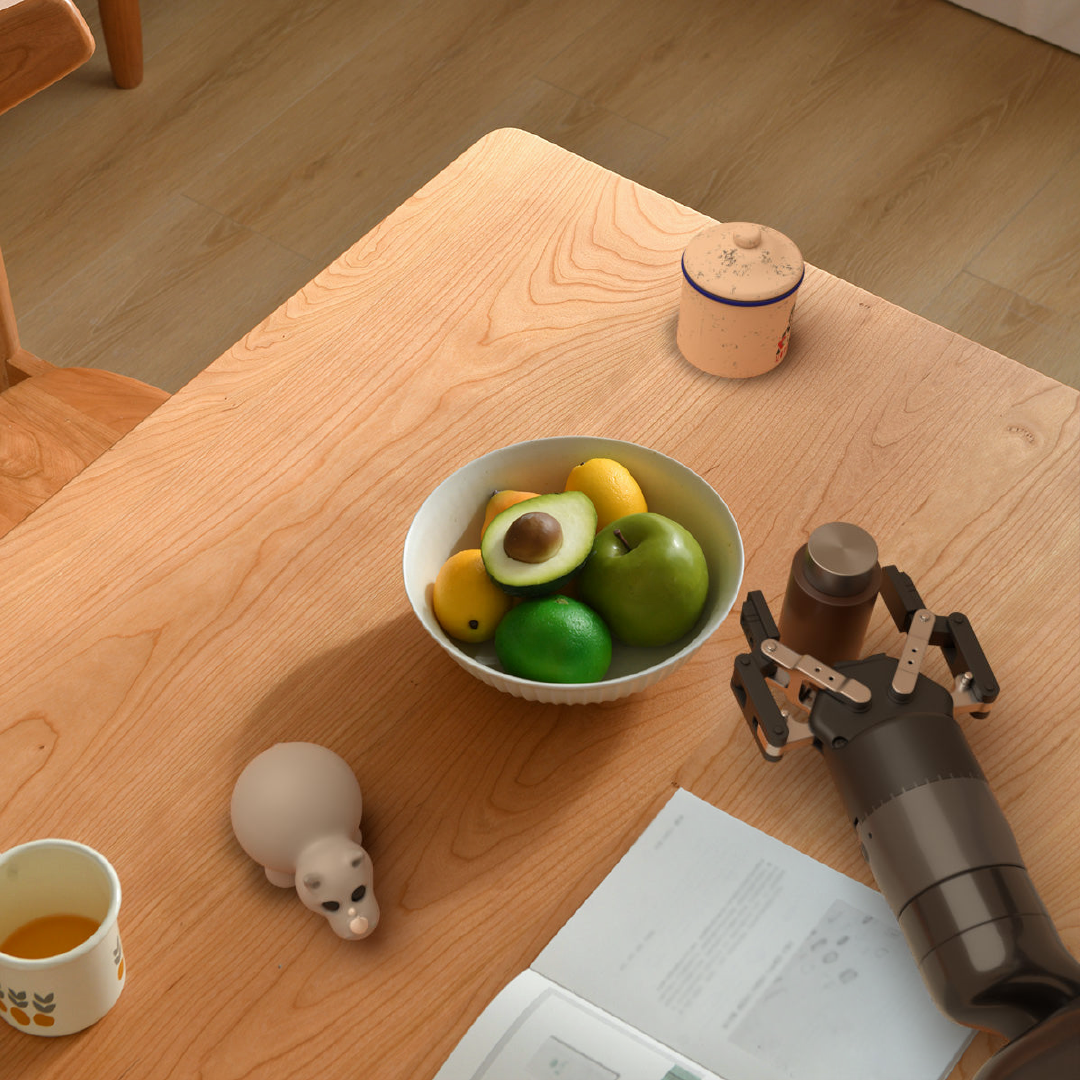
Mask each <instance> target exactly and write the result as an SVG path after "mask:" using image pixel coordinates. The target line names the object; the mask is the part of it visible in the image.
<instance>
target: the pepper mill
mask: <svg viewBox="0 0 1080 1080" xmlns="http://www.w3.org/2000/svg"><path fill="white" fill-rule="evenodd" d="M879 553H880V552H879V547H878V544H877V542H876V540H875V539H874V537H873V536H872V535H871V534H870V533H869V532H868V531H867V530H866V529H864V528H862V527H860V526H858V525H856V524H853V523H850V522H845V521H832V522H827V523H824V524H822V525H819V526H818V527H816V528H815V529H814V530H813V531H812V532H811V534H809V537H808V540H807V541H806V542H805V543H803V544H802V545H801V546H800V547H799V548H798V549H797V550H796V552H795V553H794V555H793V557H792V561H791V565H790V570H789V573H788V574H789V575H788V578H787V583H786V588H785V592H784V597H783V601H782V605H781V610H780V613H779V619H778V623H777V628H778V631H779V633H780V635H781V636H780V640H779V642H780V643H782V644H783V645H785V646H786V647H788V648H790V649H791V650H793V651H795V652H796V653H798V654H799V655H805V654H807V655H810V656H812V657H814V658H815V659H817V660H819V661H820V662H822V663H824V664H825V665H827V666H828V667H830V668H832V667H833V664H834V662H839V661H844V660H859V657H860V654H861V650H862V647H863V644H864V641H865V638H866V635H867V632H868V628H869V625H870V621H871V619H872V616H873V612H874V609H875V605H876V603H877V599H878V596H879V594H880V592H879V590H880V587H881V583H882V577H883V576H882V566H881V564H880V562H879V555H880V554H879ZM809 685H810V687H811V688H812V690H814V691H815V692H816V693H817V691H818V688H819V687H818V686H816V685H815V684H813V683H811V682H809Z"/></svg>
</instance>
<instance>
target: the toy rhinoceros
mask: <svg viewBox="0 0 1080 1080" xmlns="http://www.w3.org/2000/svg"><path fill="white" fill-rule="evenodd" d="M362 796H363V795H362V791H361V787H360V784H359V781H358V779H357V776H356V774H355V773H354V772H353V770H352V768H351V767H350V766H349V764H348V763H347V762H346V761H345V759H343V758H342V757H341V756H340V755H339V754H337V753H336V752H334V751H333V750H331V749H329V748H327V747H325V746H322V745H321V744H318V743H313V742H307V741H290V742H289V741H288V742H276V743H274V744H273V745H272V746H271V747H270V748H267V749H265V750H264V751H262V752H260V753H259V754H258V755H256V756H255V757H254V758H253V759H251V760H250V762H249V763H248V764H247V765H246V766H245V767H244V769H243V770H242V772H241V773H240V775H239V777H238V778H237V780H236V783H235V785H234V788H233V791H232V795H231V799H230V821H231V827H232V830H233V833H234V835H235V837H236V839H237V842H238V844H239V845H240V846H241V848H242V849H243V850H244V852H245V853H246V854H247V855H248V856H249V857H250V858H251V859H252V860H254V862H256V863H257V864H259V865H260V866H262V867H264V873H265V877H266V878H267V880H268V882H270V883H271V884H272V885H273V886H275V887H278V888H281V889H288V888H294V887H295V889H296V892H297V896H298V898H299V899H300V901H301V902H302V904H303V905H304V906H305V907H306V908H307V909H308V910H310V911H312V912H314V913H316V914H319V915H321V916H323V917H325V918H326V919H327V922H328V923H329V925H330V927H331V929H332V931H333V932H334V934H336V935H337V936H338V937H339V938H341V939H344V940H346V941H347V940H348V941H360V940H363V939H366V937H368V936H370V934H372V933H373V932H374V930H375V929H376V928H377V926H378V924H379V921H380V918H381V911H380V906H379V904H378V901H377V898H376V896H375V893H374V866H373V861H372V859H371V856H370V855H369V853H368V852H367V851H366V850H365V848H363V846H362V842H363V834H362V830H361V829H360V827H359V826H360V824H361V821H362V815H363V797H362Z"/></svg>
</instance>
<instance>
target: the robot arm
mask: <svg viewBox="0 0 1080 1080" xmlns="http://www.w3.org/2000/svg"><path fill="white" fill-rule="evenodd" d="M881 569H882V576H883V577H882V583H881V587H880V590H879V595H880V596H881V598H882V601H883V602H884V605H885V606H886V608H887V610H888V613H889V615H890V617H891V618H892V620H893V623H894V624H895V627H896V629H897V631H898V632H899V634H902V633H903V634H904V633H906V634H905V635H906V638H905V640H904V644H903V646H902V650H901V653H900V656H899V658H896V657H894V656H887V654H886V652H879V653H875V654H874V653H873V654H871V655H869V656H868V657H865V658H863V659H860V660H859V659H858V660H844V661H839V662H834V664H833V667H832V668H830V667H828V666H827V665H825V664H824V663H822V662H820V661H819V660H817V659H815V658H814V657H812V656H810V655H807V654H805V655H799V654H798V653H796V652H795V651H793V650H791V649H790V648H788V647H786V646H785V645H783V644H782V643H780V642H779V640H780V636H781V635H780V633H779V631H778V628H777V627H778V625H777V623H776V621H775V618H774V617H773V615H772V612H771V609H770V608H769V605H768V602H767V601H766V598H765V596H764V594H763V592H762V589H756V590H751V591H748V592H747V595H746V600H745V601H743V602H742V606H741V611H740V618H739V625H740V626H741V629H742V631H743V634H744V636H745V639H746V641H747V644H748V646H749V649H750V652H749V653H745V652H742V653H739V654H737V655H735V656H736V657H735V658H734V662H733V670H732V671H733V672H732V676H731V678H730V683H729V686H730V689H731V691H732V693H733V696H734V698H735V700H736V702H737V704H738V707H739V709H740V710H741V713H742V715H743V717H744V720H745V721H746V724H747V726H748V729H749V730H750V733H751V734H752V736H753V737H752V738H753V739H754V741H755V743H756V745H757V747H758V749H759V752H760V754H761V756H762V757H763V759H764V760H765V761H766V762H768V763H772V764H773V763H774V764H775V763H778V762H780V761H781V760H782V759H783V757H784V754H785V752H788V751H793V750H796V749H800V748H803V747H808V746H811V747H812V748H814V749H815V751H817V752H818V753H819V754H820V755H821V756H822V757H823V758H824V761H825V763H826V765H827V769H828V772H829V775H830V777H831V779H832V782H833V784H834V787H835V788H836V791H837V793H838V796H839V798H840V800H841V803H842V806H843V808H844V810H845V812H846V815H847V817H848V819H849V823H850V824H851V826H852V829H853V831H854V834H855V836H856V838H857V841H858V844H859V850H860V853H861V855H862V858H863V861H864V862H865V864H867V866H868V867H869V869H870V871H871V874H872V876H873V878H874V880H875V883H876V885H877V888H878V889H879V890H880V892H881V894H882V896H883V897H884V899H885V900H886V902H887V904H888V905H889V907H890V909H891V911H892V913H893V914H894V917H895V919H896V921H897V922H898V925H899V928H900V930H901V932H902V935H903V936H904V937H903V938H904V939H905V941H906V944H907V947H908V950H909V951H910V953H911V956H912V959H913V960H914V962H915V965H916V967H917V970H918V971H919V975H920V977H921V979H922V981H923V984H924V986H925V987H926V990H927V992H928V994H929V997H930V999H931V1000H932V1002H933V1004H934V1005H935V1007H936V1009H937V1010H938V1012H939V1013H940V1014H941V1015H942V1016H943V1017H944V1018H945V1019H946V1020H947V1021H949V1022H951V1023H953V1024H955V1025H958V1026H961V1027H966V1028H969V1029H972V1030H973V1029H974V1030H978V1031H982V1032H986V1033H990V1034H992V1035H995V1036H998V1037H1000V1038H1002V1039H1003V1040H1005V1041H1006V1042H1008V1043H1006V1044H1005V1045H1004V1046H1002V1047H1001V1048H1000V1049H999V1050H997V1051H996V1052H995V1053H994V1054H993V1055H991V1057H989V1058H988V1059H987V1060H986V1061H985V1062H984V1063H983V1065H981V1067H980V1068H979V1069H978V1070H977V1071H976V1073H975V1074H974V1076H973V1077H972V1078H971V1080H1080V962H1079V960H1077V958H1076V957H1075V956H1074V955H1073V954H1072V953H1071V951H1070V950H1069V949H1068V948H1067V947H1066V945H1065V943H1064V941H1063V939H1062V936H1061V935H1060V933H1059V931H1058V929H1057V927H1056V924H1055V922H1054V920H1053V919H1052V917H1051V914H1050V913H1049V911H1048V909H1047V907H1046V904H1045V903H1044V901H1043V899H1042V897H1041V895H1040V893H1039V890H1038V889H1037V887H1036V885H1035V882H1034V881H1033V879H1032V877H1031V875H1030V873H1029V870H1028V868H1027V865H1026V864H1025V861H1024V858H1023V856H1022V853H1021V850H1020V847H1019V843H1018V841H1017V837H1016V835H1015V833H1014V830H1013V828H1012V826H1011V824H1010V822H1009V819H1008V817H1007V815H1006V813H1005V812H1004V810H1003V808H1002V806H1001V804H1000V802H999V800H998V798H997V796H996V794H995V792H994V790H993V788H992V786H991V784H990V782H989V780H988V778H987V776H986V774H985V772H984V771H983V768H982V766H981V764H980V762H979V760H978V758H977V756H976V754H975V752H974V751H973V749H972V747H971V744H970V743H969V741H968V738H967V737H966V735H965V732H964V731H963V728H962V727H961V725H960V723H959V722H958V721H957V720H956V719H955V717H954V716H956V715H962V714H969V715H970V716H971V717H972V718H973V719H975V720H979V721H982V720H985V719H987V718H988V717H989V715H990V714H991V711H992V709H993V707H994V704H995V702H996V701H997V698H998V696H999V694H1000V692H1001V687H1000V684H999V683H998V681H997V678H996V676H995V674H994V671H993V669H992V667H991V665H990V663H989V661H988V659H987V657H986V654H985V652H984V650H983V648H982V646H981V644H980V642H979V639H978V637H977V635H976V632H975V631H974V629H973V626H972V624H971V622H970V619H969V618H968V616H967V615H966V614H964V613H963V612H960V611H953V612H951V613H949V614H948V616H947V615H940V614H939V615H938V614H934V612H932V611H931V610H929V609H928V608H927V606H926V605H925V602H924V600H923V599H922V596H921V595H920V593H919V591H918V589H917V587H916V586H915V584H914V581H913V580H912V577H911V576H910V575H909V574H907V573H906V572H905V571H901V572H900V571H899V569H898V567H897V566H896V565H895V564H890V565H886V566H881ZM928 646H931V647H939V649H940V651H941V654H942V655H943V658H944V659H945V662H946V665H947V667H948V669H949V672H950V674H951V676H952V679H953V683H952V685H951V688H950V689H951V692H950V691H949V690H948V689H947V688H946V687H944V686H942V685H941V684H940V683H938V682H936V681H934V680H933V679H932V678H930V677H929V676H927V675H926V674H923V673H922V672H920V670H921V667H922V664H923V662H924V661H923V660H924V657H925V655H926V652H927V649H928ZM809 682H811V683H813V684H815V685H816V686H818V687H819V688H818V691H817V693H816V692H815V691H814V690H812V688H811V687H810V685H809ZM768 684H770V685H771V686H773V687H774V688H776V689H777V690H779V691H780V692H782V693H783V694H784V695H785V698H786V699H787V701H788V702H789V703H792V705H794V706H796V707H797V708H799V709H800V710H802V711H804V712H805V713H807V714H808V718H807V722H800V721H798V720H797V719H795V718H794V717H793V715H792V714H791V713H790V712H789V710H788V709H784V708H783V709H781V710H780V707H779V705H778V704H777V702H776V700H775V697H774V695H773V694H772V691H771V689H770V687H769V685H768Z"/></svg>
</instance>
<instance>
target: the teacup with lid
mask: <svg viewBox="0 0 1080 1080" xmlns="http://www.w3.org/2000/svg"><path fill="white" fill-rule="evenodd" d="M680 265H681V271H682V282H681V292H680V300H679V301H680V303H679V312H678V320H677V321H678V322H677V331H676V342H677V347H678V349H679V351H680V353H681V354H682V356H683V358H685V359H686V360H687V361H688V362H689V363H690V364H691V365H693V366H694V367H696V368H697V369H698V370H700V371H703V372H705V373H707V374H710V375H713V376H716V377H721V378H726V379H727V378H729V379H747V378H752V377H757V376H760V375H763V374H766V373H768V372H770V371H771V370H773V369H774V368H777V366H778V365H780V363H781V362H782V361H783V360H784V358H785V356H786V355H787V352H788V347H789V341H790V335H791V331H792V325H793V319H794V315H795V308H796V304H797V299H798V293H799V288H800V287H801V285H802V283H803V281H804V278H805V273H806V272H805V271H806V267H805V262H804V257H803V255H802V253H801V251H800V249H799V248H798V246H797V245H796V244H795V243H794V241H792V239H791V238H789V237H788V236H786V235H785V234H784V233H782V232H780V231H779V230H776V229H775V228H772V227H770V226H767V225H763V224H760V223H759V224H758V223H755V222H745V221H732V222H724V223H718V224H715V225H712V226H709V227H707V228H705V229H703V230H701V231H700V232H698V233H697V234H696V235H695V236H694V237H692V239H691V240H690V241H689V242H688V243H687V245H686V247H685V248H684V250H683V253H682V256H681V259H680Z"/></svg>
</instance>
